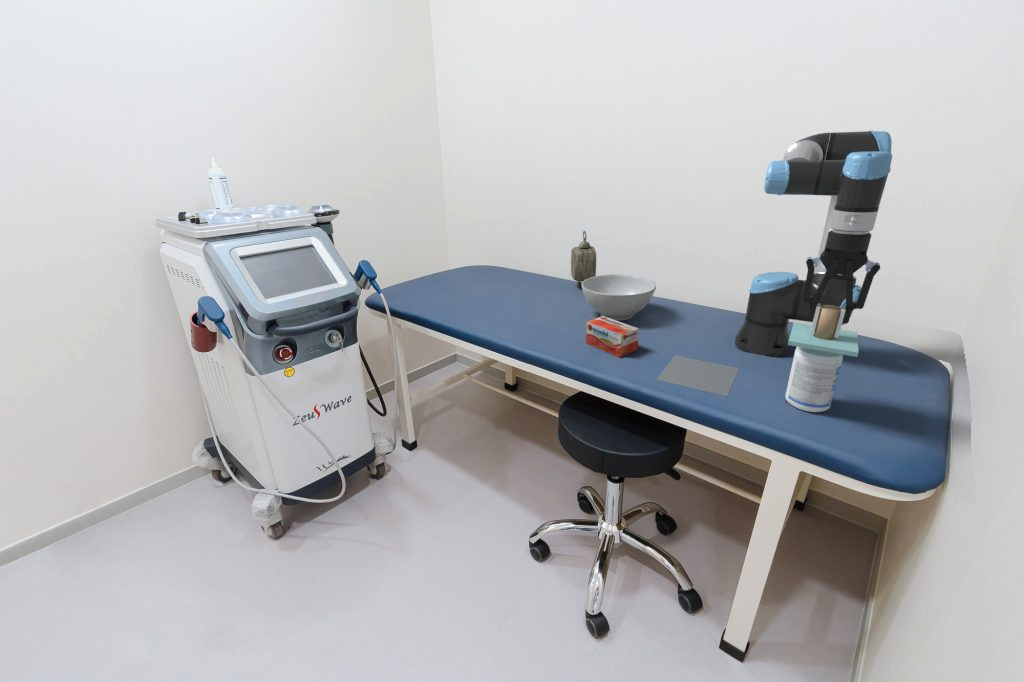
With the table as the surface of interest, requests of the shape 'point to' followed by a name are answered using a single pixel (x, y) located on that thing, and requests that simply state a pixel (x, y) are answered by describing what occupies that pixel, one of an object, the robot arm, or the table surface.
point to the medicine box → (612, 336)
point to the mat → (699, 375)
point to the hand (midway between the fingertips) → (824, 333)
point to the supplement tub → (813, 379)
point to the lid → (825, 334)
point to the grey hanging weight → (583, 261)
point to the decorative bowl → (618, 295)
